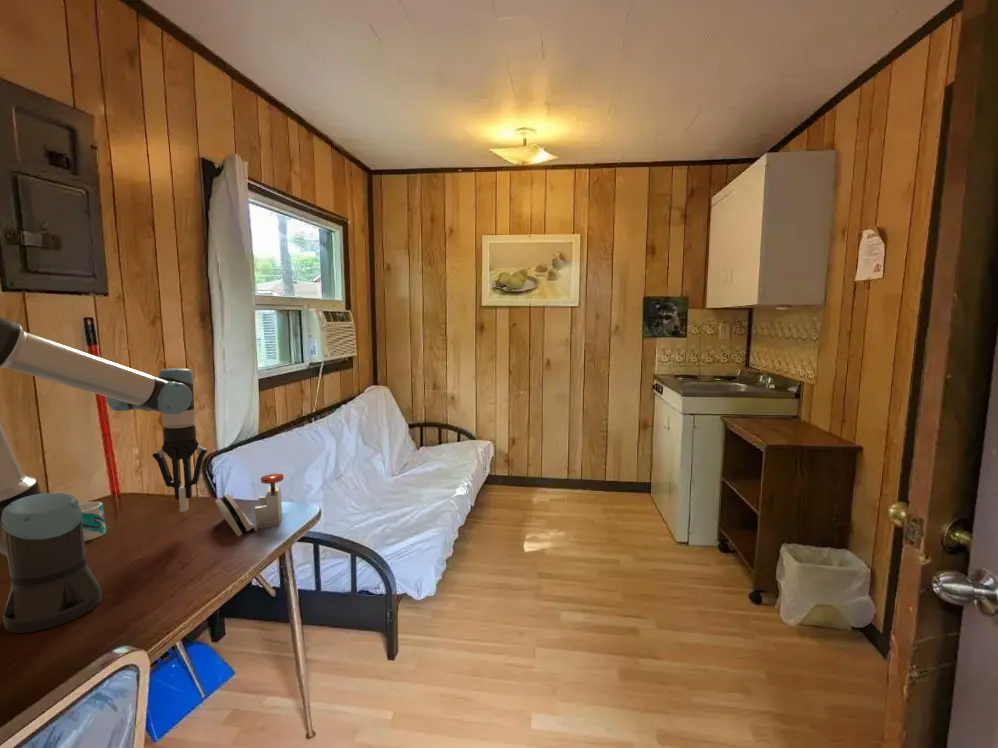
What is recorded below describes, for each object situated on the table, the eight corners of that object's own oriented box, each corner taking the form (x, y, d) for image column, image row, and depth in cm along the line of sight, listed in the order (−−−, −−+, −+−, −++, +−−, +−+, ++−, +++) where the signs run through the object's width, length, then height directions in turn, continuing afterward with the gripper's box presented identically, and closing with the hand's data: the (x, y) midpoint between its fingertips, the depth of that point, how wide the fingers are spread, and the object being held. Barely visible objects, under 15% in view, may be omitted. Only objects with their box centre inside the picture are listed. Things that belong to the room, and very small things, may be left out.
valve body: (285, 524, 146) (282, 480, 144) (256, 529, 143) (252, 484, 142) (287, 512, 155) (284, 470, 154) (260, 515, 153) (257, 473, 151)
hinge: (257, 531, 142) (241, 501, 139) (240, 541, 139) (224, 511, 136) (242, 513, 155) (227, 486, 151) (226, 522, 152) (211, 495, 149)
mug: (66, 544, 136) (63, 514, 135) (70, 529, 145) (66, 501, 144) (105, 536, 141) (102, 507, 139) (106, 522, 150) (103, 495, 149)
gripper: (209, 421, 144) (213, 502, 146) (155, 424, 140) (160, 508, 142) (203, 426, 137) (208, 511, 139) (146, 429, 133) (152, 517, 135)
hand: (184, 509), depth 141 cm, fingers closed
